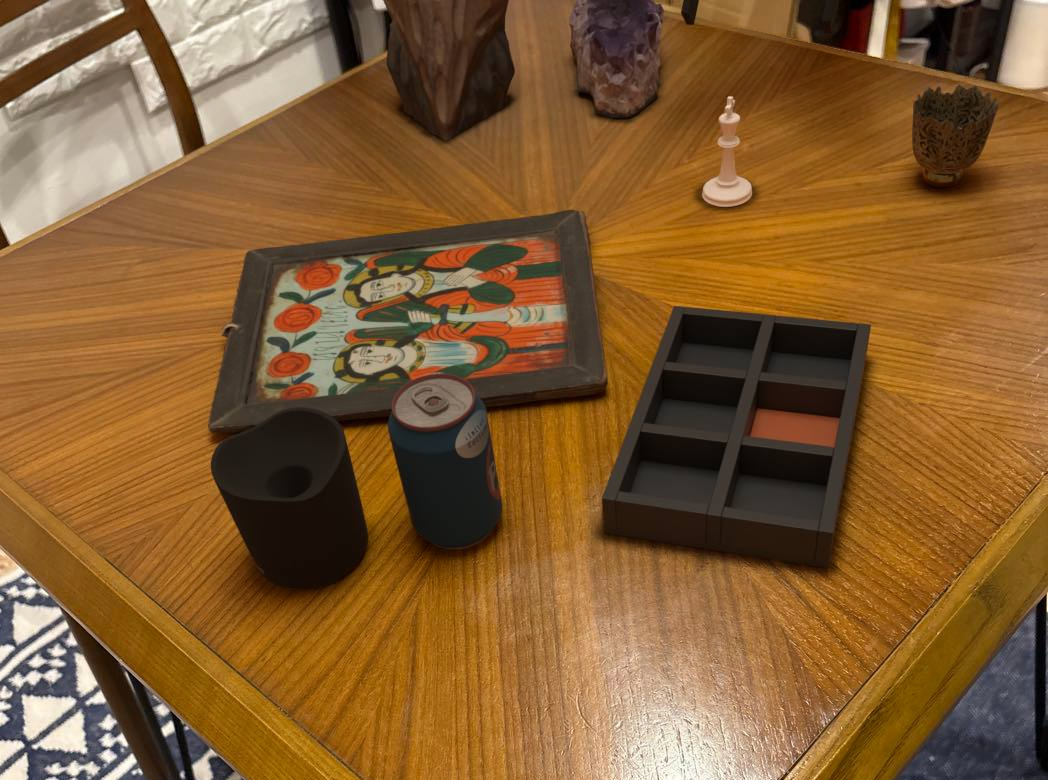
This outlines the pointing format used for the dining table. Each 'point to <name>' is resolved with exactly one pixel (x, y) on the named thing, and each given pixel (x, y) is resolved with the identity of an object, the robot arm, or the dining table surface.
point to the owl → (449, 61)
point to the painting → (413, 320)
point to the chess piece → (727, 166)
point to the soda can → (445, 460)
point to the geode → (617, 53)
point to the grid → (741, 435)
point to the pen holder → (294, 497)
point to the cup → (950, 132)
